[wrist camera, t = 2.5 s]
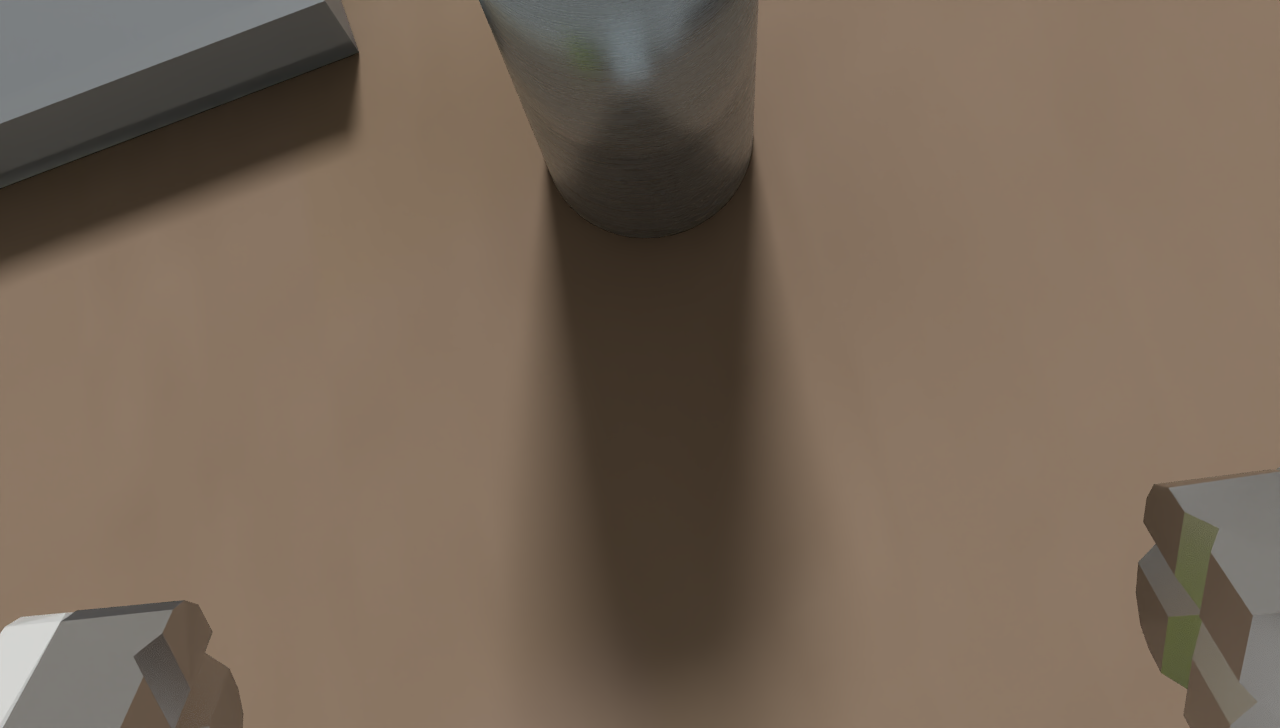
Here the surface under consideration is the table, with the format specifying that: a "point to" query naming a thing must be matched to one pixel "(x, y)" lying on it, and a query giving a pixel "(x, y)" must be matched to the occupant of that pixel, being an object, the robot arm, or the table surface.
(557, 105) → the canister
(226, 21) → the tray
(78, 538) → the table surface
